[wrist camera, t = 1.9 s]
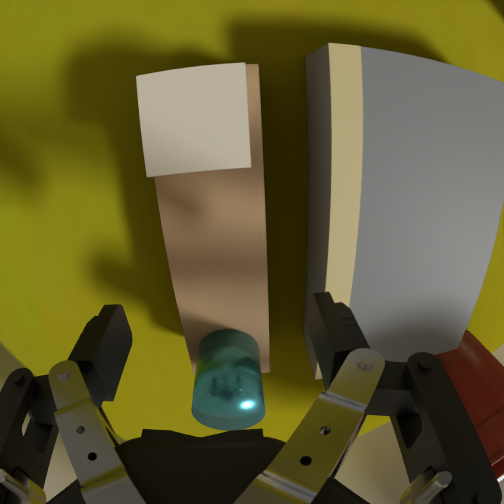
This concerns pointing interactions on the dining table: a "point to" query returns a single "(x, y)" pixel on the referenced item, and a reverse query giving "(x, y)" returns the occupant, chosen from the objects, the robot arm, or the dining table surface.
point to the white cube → (194, 119)
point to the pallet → (220, 243)
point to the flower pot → (480, 393)
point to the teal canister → (228, 381)
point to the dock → (401, 193)
